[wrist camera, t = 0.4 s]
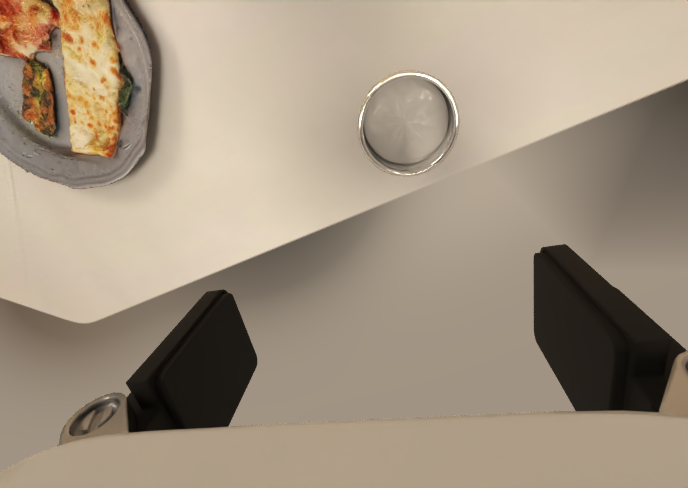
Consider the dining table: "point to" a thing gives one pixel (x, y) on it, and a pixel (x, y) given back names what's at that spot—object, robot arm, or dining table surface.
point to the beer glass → (408, 123)
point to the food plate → (73, 89)
